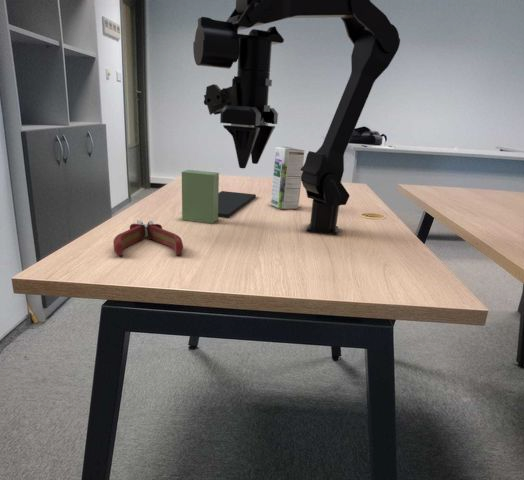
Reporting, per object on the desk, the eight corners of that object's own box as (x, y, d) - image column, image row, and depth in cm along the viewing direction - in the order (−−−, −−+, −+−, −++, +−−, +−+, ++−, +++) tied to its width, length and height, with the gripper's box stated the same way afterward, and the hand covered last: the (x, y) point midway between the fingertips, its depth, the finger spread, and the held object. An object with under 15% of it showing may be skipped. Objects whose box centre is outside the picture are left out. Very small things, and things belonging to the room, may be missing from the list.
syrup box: (269, 205, 125) (274, 146, 119) (289, 204, 128) (294, 146, 121) (279, 209, 121) (284, 148, 114) (299, 209, 123) (305, 149, 116)
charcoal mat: (227, 217, 108) (228, 214, 108) (186, 213, 110) (186, 209, 109) (255, 197, 134) (255, 194, 134) (221, 193, 136) (222, 190, 136)
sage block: (212, 223, 102) (213, 174, 98) (182, 219, 103) (181, 171, 99) (217, 219, 106) (219, 172, 101) (188, 216, 107) (188, 169, 102)
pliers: (173, 227, 96) (173, 214, 95) (184, 256, 79) (184, 241, 78) (115, 227, 94) (114, 214, 92) (113, 257, 76) (112, 241, 75)
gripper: (226, 72, 93) (223, 158, 100) (191, 64, 76) (191, 166, 84) (281, 76, 91) (274, 163, 98) (257, 68, 74) (252, 172, 82)
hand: (248, 165), depth 90 cm, fingers open, 9 cm apart
